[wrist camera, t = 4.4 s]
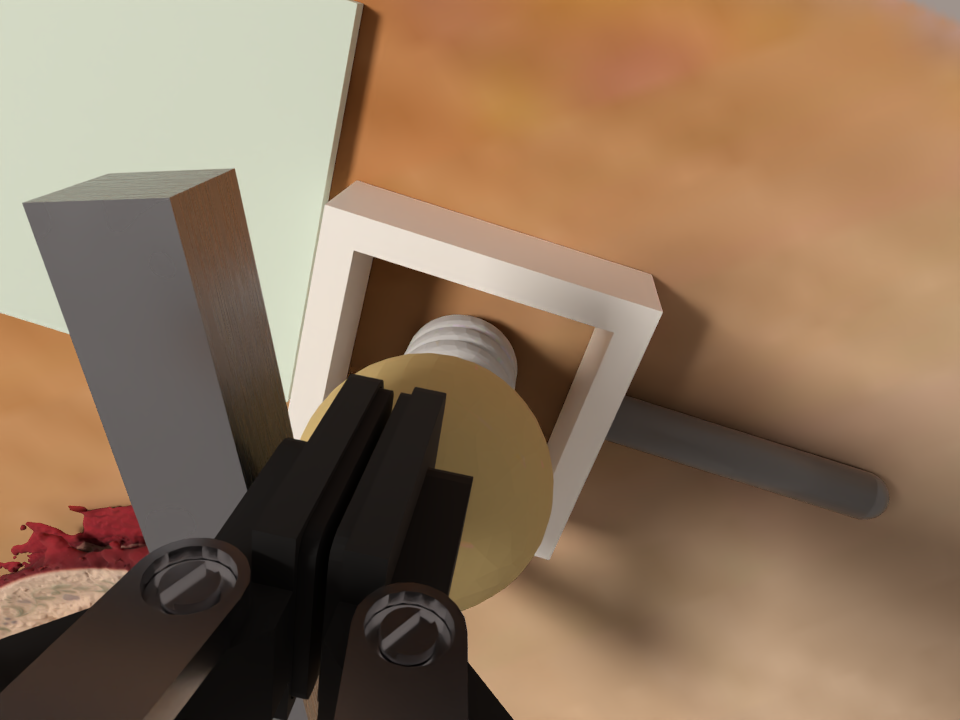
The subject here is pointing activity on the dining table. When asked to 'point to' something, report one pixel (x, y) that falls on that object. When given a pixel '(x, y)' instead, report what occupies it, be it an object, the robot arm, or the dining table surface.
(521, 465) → the light bulb
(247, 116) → the mat
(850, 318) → the dining table surface
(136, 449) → the silver metal bar
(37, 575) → the plate with food
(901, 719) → the dining table surface
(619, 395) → the white handled box
